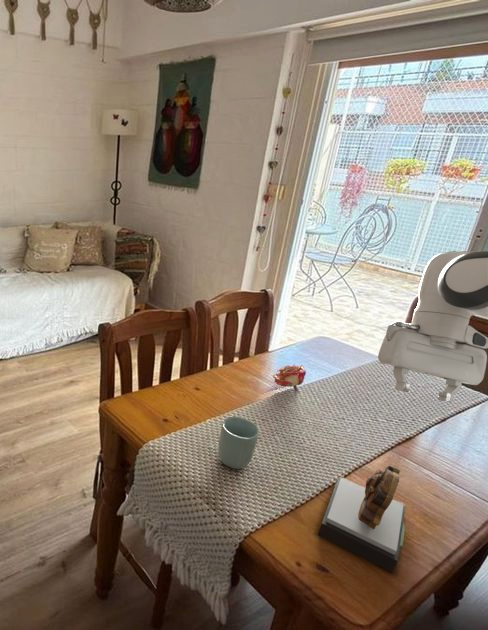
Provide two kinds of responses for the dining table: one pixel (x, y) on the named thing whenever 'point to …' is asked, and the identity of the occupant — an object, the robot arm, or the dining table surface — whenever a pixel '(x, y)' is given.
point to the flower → (290, 376)
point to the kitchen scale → (363, 526)
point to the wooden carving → (378, 495)
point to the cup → (237, 442)
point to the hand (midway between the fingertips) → (423, 396)
